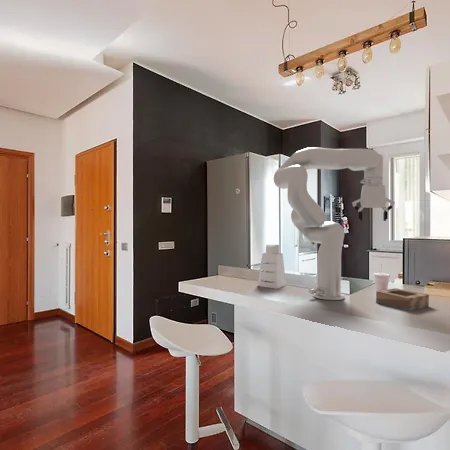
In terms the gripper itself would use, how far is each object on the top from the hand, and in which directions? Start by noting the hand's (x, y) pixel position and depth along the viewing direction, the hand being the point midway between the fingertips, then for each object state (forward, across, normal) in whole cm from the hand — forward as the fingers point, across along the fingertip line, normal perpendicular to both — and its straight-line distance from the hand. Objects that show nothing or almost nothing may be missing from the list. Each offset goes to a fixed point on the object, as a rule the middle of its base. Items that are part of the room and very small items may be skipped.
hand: (372, 220), depth 145 cm
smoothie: (+32, +3, -6) cm, 33 cm away
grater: (+32, -45, -2) cm, 55 cm away
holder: (+32, +9, -18) cm, 38 cm away
